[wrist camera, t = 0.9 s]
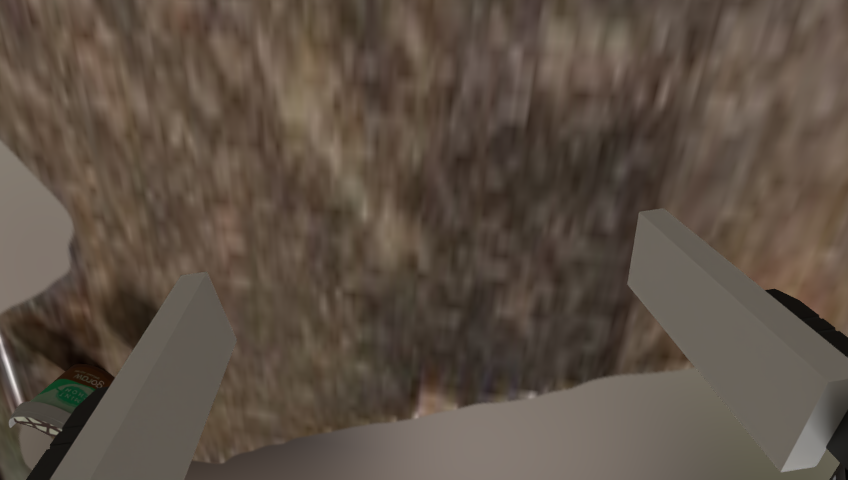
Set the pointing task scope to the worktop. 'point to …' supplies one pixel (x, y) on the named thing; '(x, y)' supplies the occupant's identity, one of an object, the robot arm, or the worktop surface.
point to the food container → (61, 399)
